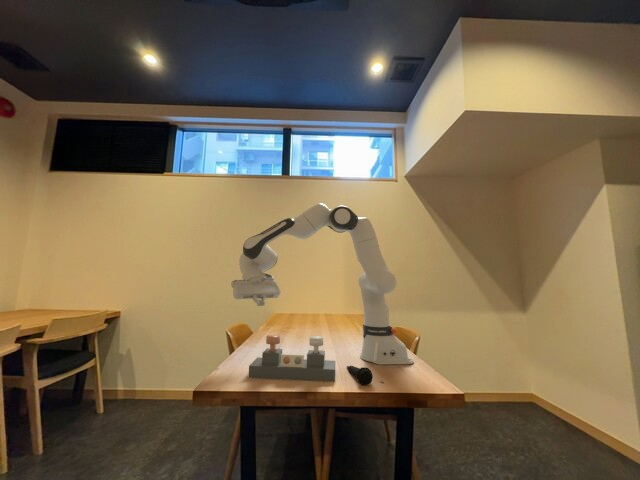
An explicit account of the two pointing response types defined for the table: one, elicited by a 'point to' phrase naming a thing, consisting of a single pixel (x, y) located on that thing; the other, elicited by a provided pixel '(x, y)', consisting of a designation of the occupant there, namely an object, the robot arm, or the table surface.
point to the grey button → (316, 343)
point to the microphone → (361, 374)
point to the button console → (293, 366)
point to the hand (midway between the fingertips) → (261, 304)
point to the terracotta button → (272, 341)
